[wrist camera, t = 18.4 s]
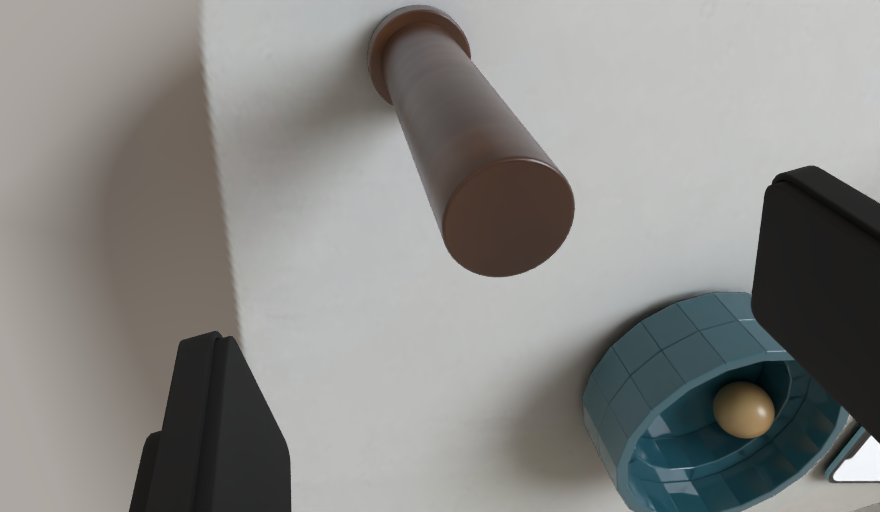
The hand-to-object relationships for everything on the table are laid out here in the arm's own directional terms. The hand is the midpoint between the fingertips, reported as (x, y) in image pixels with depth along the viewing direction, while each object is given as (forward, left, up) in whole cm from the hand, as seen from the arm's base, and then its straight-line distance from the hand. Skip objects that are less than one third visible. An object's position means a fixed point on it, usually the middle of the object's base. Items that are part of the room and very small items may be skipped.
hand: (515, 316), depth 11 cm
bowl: (+12, -20, -15) cm, 27 cm away
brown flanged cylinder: (+1, 0, -15) cm, 15 cm away
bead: (+14, -22, -12) cm, 28 cm away
